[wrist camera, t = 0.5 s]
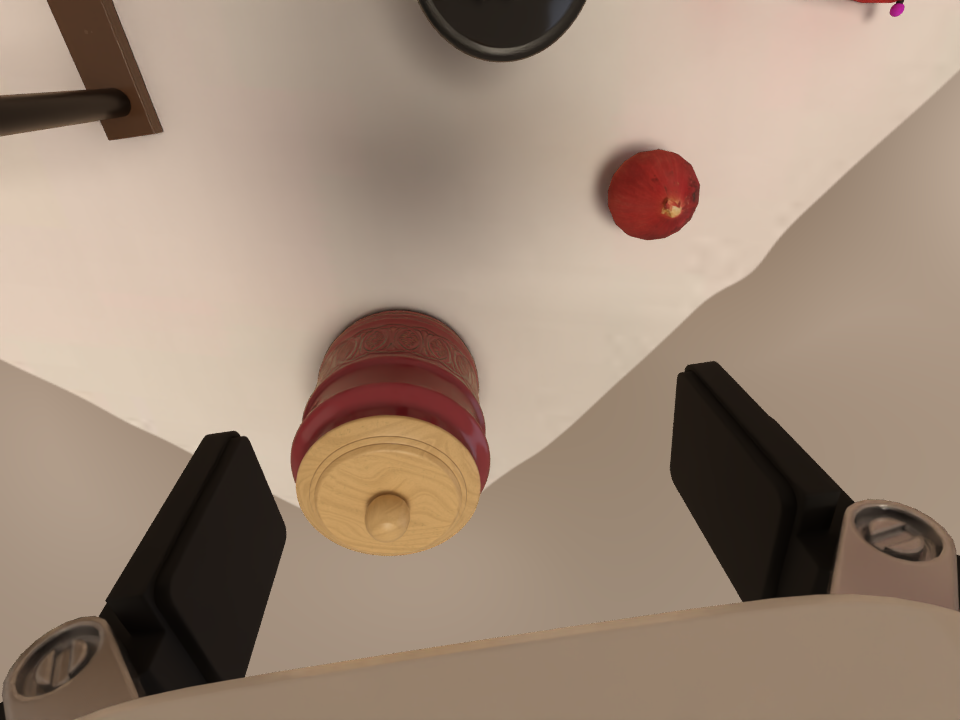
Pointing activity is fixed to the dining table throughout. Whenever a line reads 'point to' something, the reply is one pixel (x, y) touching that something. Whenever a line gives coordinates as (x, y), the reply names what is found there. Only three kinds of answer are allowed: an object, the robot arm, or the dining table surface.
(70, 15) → the rack
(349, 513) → the kitchen canister
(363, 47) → the dining table surface
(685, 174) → the red oval fruit
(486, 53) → the drinking cup
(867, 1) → the glasses
